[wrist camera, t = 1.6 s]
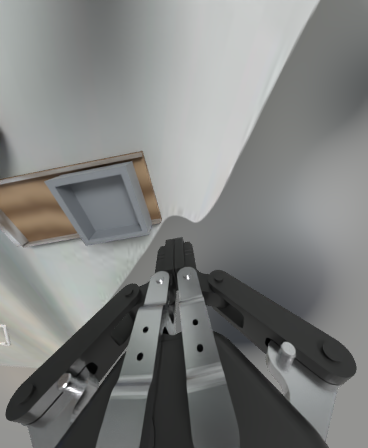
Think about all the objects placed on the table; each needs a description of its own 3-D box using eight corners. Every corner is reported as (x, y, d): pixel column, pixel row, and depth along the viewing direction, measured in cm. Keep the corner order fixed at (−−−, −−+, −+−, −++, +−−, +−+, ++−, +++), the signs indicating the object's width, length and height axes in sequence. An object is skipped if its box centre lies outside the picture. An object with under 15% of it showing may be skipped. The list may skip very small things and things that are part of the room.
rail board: (-20, 183, 28) (-40, 187, 26) (142, 150, 27) (139, 152, 24) (31, 241, 35) (20, 250, 33) (161, 218, 34) (160, 225, 31)
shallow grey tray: (68, 172, 27) (43, 181, 22) (134, 159, 26) (124, 165, 21) (99, 228, 33) (85, 245, 28) (153, 218, 32) (149, 234, 27)
